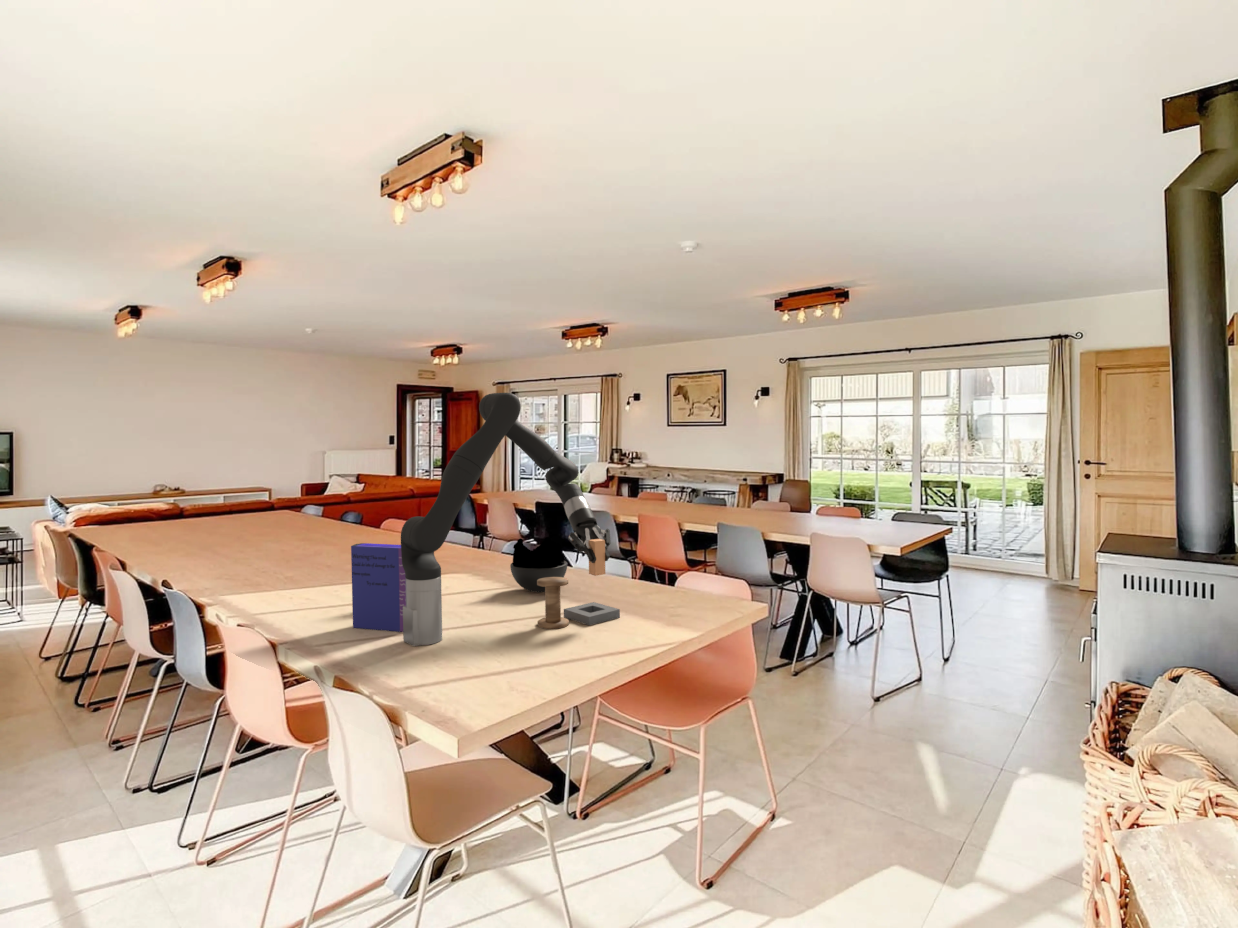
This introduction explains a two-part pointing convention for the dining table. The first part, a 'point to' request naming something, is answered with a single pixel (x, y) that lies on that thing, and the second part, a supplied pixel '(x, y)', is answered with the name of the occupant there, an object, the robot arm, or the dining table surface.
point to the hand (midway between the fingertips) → (600, 560)
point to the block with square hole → (591, 613)
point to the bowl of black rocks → (537, 564)
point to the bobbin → (552, 603)
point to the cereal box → (378, 587)
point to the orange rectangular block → (597, 557)
